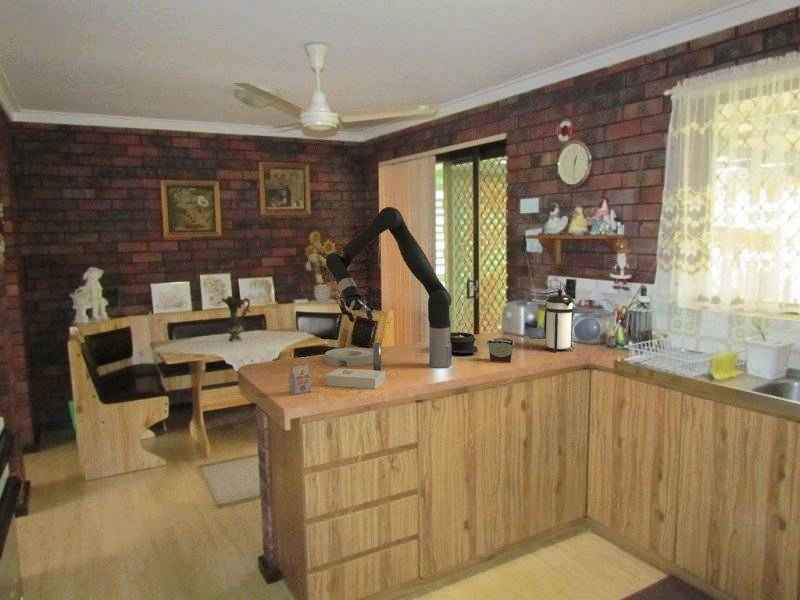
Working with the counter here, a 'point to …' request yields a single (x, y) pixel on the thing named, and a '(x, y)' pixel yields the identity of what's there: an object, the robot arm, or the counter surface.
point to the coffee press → (558, 321)
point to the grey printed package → (299, 380)
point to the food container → (500, 349)
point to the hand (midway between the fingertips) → (362, 320)
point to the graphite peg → (377, 356)
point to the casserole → (462, 343)
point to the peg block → (355, 378)
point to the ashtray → (349, 356)
